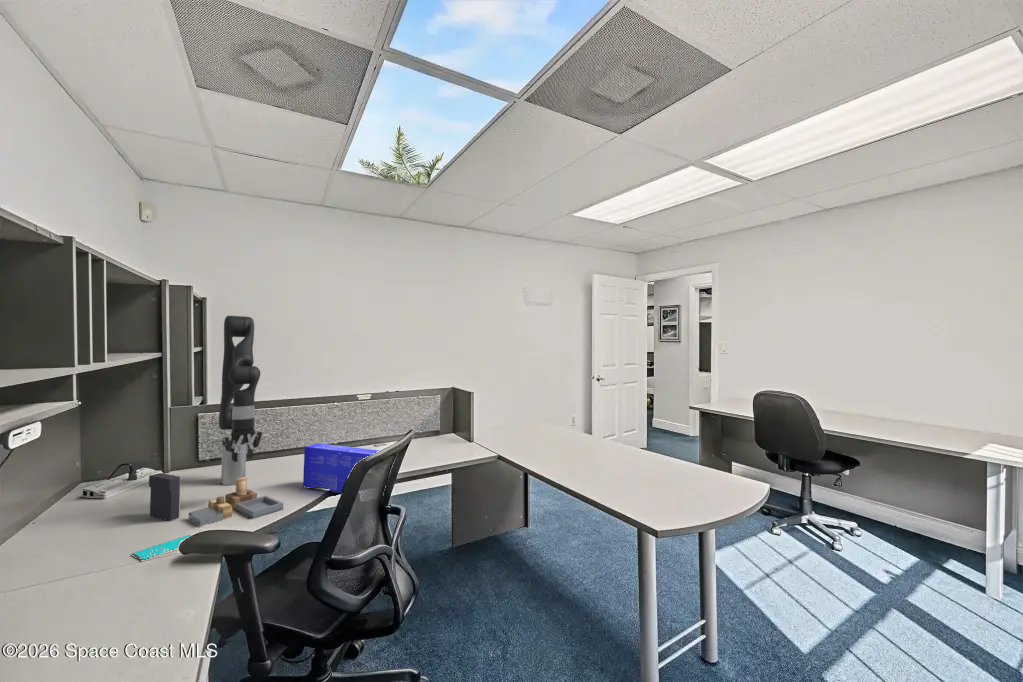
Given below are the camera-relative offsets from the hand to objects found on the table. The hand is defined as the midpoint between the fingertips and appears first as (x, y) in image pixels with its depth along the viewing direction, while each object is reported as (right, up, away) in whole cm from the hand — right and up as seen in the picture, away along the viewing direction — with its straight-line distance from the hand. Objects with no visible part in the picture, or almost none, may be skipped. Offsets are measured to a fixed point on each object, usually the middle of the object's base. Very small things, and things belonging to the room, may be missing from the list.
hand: (242, 460), depth 168 cm
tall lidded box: (-19, -17, -14) cm, 29 cm away
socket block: (0, -17, 0) cm, 17 cm away
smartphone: (-1, -18, -36) cm, 40 cm away
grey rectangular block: (-3, -18, -15) cm, 24 cm away
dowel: (0, -17, 0) cm, 17 cm away
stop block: (-2, -17, -10) cm, 20 cm away
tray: (+10, -18, -5) cm, 21 cm away
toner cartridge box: (+33, -19, +18) cm, 42 cm away
